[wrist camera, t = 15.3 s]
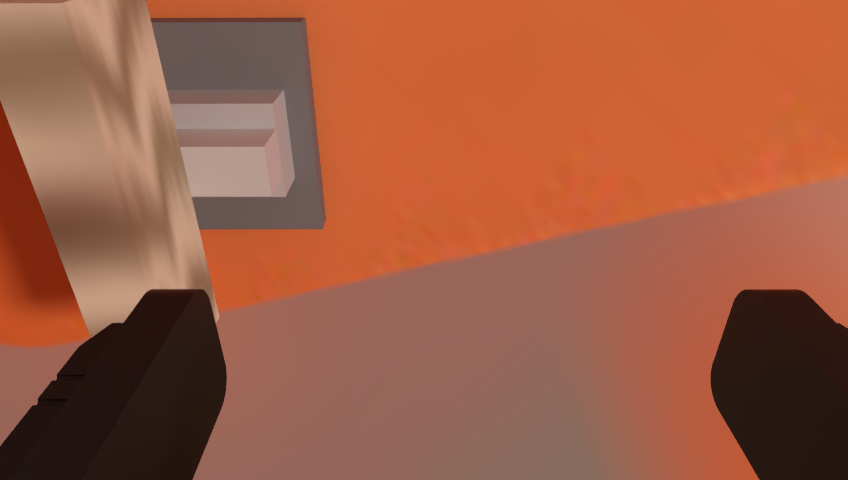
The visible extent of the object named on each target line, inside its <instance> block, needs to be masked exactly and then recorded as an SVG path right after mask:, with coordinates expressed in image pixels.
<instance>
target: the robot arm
mask: <svg viewBox="0 0 848 480" xmlns="http://www.w3.org/2000/svg"><path fill="white" fill-rule="evenodd" d="M226 378H227V376H226V365H225V361H224V357H223V352H222V348H221V344H220V340H219V335H218V331H217V327H216V323H215V318H214V314H213V310H212V306H211V302H210V298H209V296H208V294H207V293H206V291H205V290H203V289H151V290H149V291H147V292H146V293H145V294H144V295H143V297H142V298H141V299H140V301H139V302H138V304H137V305H136V306H135V308H134V309H133V310H132V312H131V313H130V315H129V316H128V317H127V319H126V320H125V321H124V323H111V324H110V325H108V326H107V327H106V328H104V329H103V330H101V331H100V332H99V333H97V334H96V335H95V336H93V337H92V338H90V339H89V340H88V341H86V342H85V343H83V344H82V345H81V346H79V347H78V349H77V350H76V351H75V352H74V354H73V355H72V356H71V357H70V359H69V360H68V361H67V363H66V364H65V365H64V366H63V368H62V369H61V370H60V371H59V373H58V374H57V380H56V381H51V383H50V384H49V385H48V387H47V388H46V389H45V390H44V392H43V393H42V394H41V395H40V397H39V398H38V404H37V405H33V406H32V407H31V408H30V409H29V411H28V412H27V413H26V415H25V416H24V417H23V418H22V419H21V421H20V422H19V424H18V425H17V426H16V427H15V428H14V430H13V431H12V432H11V434H10V435H9V436H8V437H7V438H6V440H5V441H4V442H3V444H2V445H1V446H0V480H192V479H193V477H194V474H195V472H196V469H197V467H198V464H199V462H200V459H201V457H202V454H203V452H204V449H205V447H206V445H207V442H208V440H209V437H210V435H211V433H212V430H213V428H214V425H215V423H216V420H217V418H218V415H219V413H220V410H221V408H222V405H223V402H224V397H225V392H226V380H227V379H226ZM711 389H712V394H713V398H714V401H715V403H716V406H717V408H718V410H719V411H720V413H721V415H722V417H723V418H724V420H725V421H726V423H727V425H728V427H729V428H730V430H731V432H732V433H733V435H734V437H735V439H736V440H737V442H738V444H739V445H740V447H741V449H742V450H743V452H744V454H745V456H746V457H747V459H748V461H749V462H750V464H751V466H752V467H753V469H754V471H755V473H756V474H757V476H758V478H759V479H760V480H848V328H846V327H844V326H843V325H841V324H839V323H836V322H835V321H833V319H831V318H830V316H828V314H826V313H825V312H824V310H823V309H822V308H821V307H820V306H819V305H818V304H817V303H816V302H815V301H814V300H813V299H812V298H810V296H808V295H807V294H806V293H805V292H803V291H801V290H743V291H741V292H740V293H739V294H738V295H737V297H736V298H735V300H734V302H733V305H732V308H731V311H730V315H729V318H728V320H727V323H726V326H725V329H724V332H723V335H722V338H721V341H720V344H719V347H718V350H717V353H716V356H715V359H714V362H713V365H712V369H711Z"/></svg>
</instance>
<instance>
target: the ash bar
mask: <svg viewBox="0 0 848 480" xmlns="http://www.w3.org/2000/svg"><path fill="white" fill-rule="evenodd" d="M0 101H1V104H2V106H3V109H4V112H5V114H6V117H7V119H8V122H9V125H10V127H11V130H12V133H13V135H14V138H15V140H16V143H17V146H18V148H19V151H20V153H21V156H22V159H23V161H24V164H25V167H26V169H27V172H28V174H29V177H30V180H31V182H32V185H33V187H34V190H35V193H36V195H37V198H38V201H39V203H40V206H41V208H42V211H43V214H44V216H45V219H46V221H47V224H48V227H49V229H50V232H51V235H52V237H53V240H54V242H55V245H56V248H57V250H58V253H59V255H60V258H61V261H62V263H63V266H64V269H65V271H66V274H67V276H68V279H69V282H70V284H71V287H72V289H73V292H74V295H75V297H76V300H77V302H78V305H79V308H80V310H81V313H82V316H83V318H84V321H85V323H86V326H87V329H88V331H89V334H90V336H91V338H92V337H93V336H95V335H96V334H97V333H99V332H100V331H101V330H103V329H104V328H106V327H107V326H108V325H110V324H111V323H124V321H125V320H126V319H127V317H128V316H129V315H130V313H131V312H132V310H133V309H134V308H135V306H136V305H137V304H138V302H139V301H140V299H141V298H142V297H143V295H144V294H145V293H146V292H147V291H149V290H151V289H203V290H205V291H206V293H207V294H208V296H209V298H210V302H211V306H212V310H213V314H214V318H215V323H217V321H218V319H219V313H218V309H217V305H216V300H215V296H214V292H213V287H212V283H211V279H210V274H209V270H208V266H207V261H206V257H205V253H204V248H203V244H202V240H201V235H200V231H199V227H198V222H197V218H196V214H195V209H194V205H193V201H192V196H191V192H190V188H189V183H188V179H187V175H186V170H185V166H184V162H183V157H182V153H181V149H180V144H179V140H178V136H177V131H176V127H175V123H174V118H173V114H172V110H171V105H170V101H169V97H168V92H167V88H166V84H165V80H164V75H163V71H162V67H161V62H160V58H159V54H158V49H157V45H156V41H155V36H154V32H153V28H152V23H151V19H150V15H149V10H148V6H147V2H146V0H0Z"/></svg>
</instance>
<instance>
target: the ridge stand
mask: <svg viewBox="0 0 848 480" xmlns="http://www.w3.org/2000/svg"><path fill="white" fill-rule="evenodd" d="M150 19H151V23H152V28H153V32H154V36H155V41H156V45H157V49H158V54H159V58H160V62H161V67H162V71H163V75H164V80H165V84H166V88H167V92H168V97H169V101H170V105H171V110H172V114H173V118H174V123H175V127H176V131H177V136H178V140H179V144H180V149H181V153H182V157H183V162H184V166H185V170H186V175H187V179H188V183H189V188H190V192H191V196H192V201H193V205H194V209H195V214H196V218H197V222H198V227H199V229H323V226H324V223H325V220H326V218H325V208H324V198H323V188H322V178H321V169H320V159H319V149H318V139H317V129H316V119H315V109H314V99H313V90H312V80H311V70H310V60H309V50H308V40H307V30H306V20H305V18H150Z"/></svg>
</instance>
